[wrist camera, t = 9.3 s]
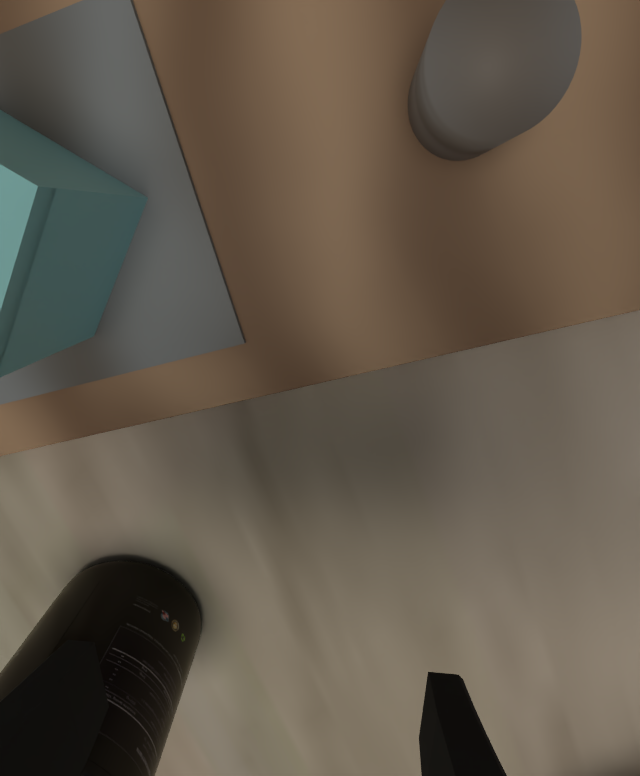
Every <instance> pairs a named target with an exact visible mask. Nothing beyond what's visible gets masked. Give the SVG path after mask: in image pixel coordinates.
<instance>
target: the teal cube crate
mask: <svg viewBox="0 0 640 776" xmlns="http://www.w3.org/2000/svg"><path fill="white" fill-rule="evenodd" d="M147 199H148V197H146V196H144V195H142V194H141V193H139V192H137V191H136V190H134V189H132V188H131V187H129V186H127V185H126V184H124V183H122V182H121V181H119V180H117V179H116V178H114V177H112V176H111V175H109V174H107V173H106V172H104V171H102V170H101V169H99V168H97V167H96V166H94V165H92V164H91V163H89V162H87V161H85V160H84V159H82V158H80V157H79V156H77V155H75V154H74V153H72V152H70V151H69V150H67V149H65V148H64V147H62V146H60V145H59V144H57V143H55V142H54V141H52V140H50V139H49V138H47V137H45V136H44V135H42V134H40V133H39V132H37V131H35V130H33V129H32V128H30V127H28V126H27V125H25V124H23V123H22V122H20V121H18V120H17V119H15V118H13V117H12V116H10V115H8V114H7V113H5V112H3V111H2V110H0V377H2V376H5V375H7V374H9V373H11V372H14V371H16V370H18V369H20V368H23V367H25V366H27V365H30V364H32V363H34V362H36V361H39V360H41V359H43V358H46V357H48V356H50V355H52V354H55V353H57V352H59V351H61V350H64V349H66V348H68V347H71V346H73V345H75V344H77V343H80V342H82V341H84V340H86V339H89V338H91V337H93V336H94V335H95V332H96V330H97V327H98V324H99V322H100V319H101V317H102V314H103V312H104V309H105V307H106V304H107V302H108V299H109V296H110V294H111V291H112V289H113V286H114V284H115V281H116V279H117V276H118V273H119V271H120V268H121V266H122V263H123V261H124V258H125V256H126V253H127V250H128V248H129V245H130V243H131V240H132V238H133V235H134V233H135V230H136V227H137V225H138V222H139V220H140V217H141V215H142V212H143V210H144V207H145V205H146V202H147Z"/></svg>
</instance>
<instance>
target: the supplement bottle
mask: <svg viewBox="0 0 640 776" xmlns="http://www.w3.org/2000/svg"><path fill="white" fill-rule="evenodd" d="M200 634H201V617H200V613H199V610H198V607H197V604H196V602H195V600H194V598H193V597H192V595H191V594H190V592H189V591H188V590H187V589H186V587H185V586H184V585H183V584H182V583H181V582H179V581H178V580H177V579H176V578H174V577H173V576H171V575H170V574H168V573H167V572H165V571H163V570H161V569H159V568H157V567H154V566H151V565H148V564H145V563H140V562H135V561H110V562H104V563H100V564H97V565H94V566H92V567H89V568H87V569H85V570H84V571H82V572H81V573H79V574H78V575H76V576H75V577H74V578H73V579H72V580H71V581H70V582H69V583H68V584H67V585H66V587H65V588H64V589H63V590H62V592H61V593H60V594H59V596H58V597H57V598H56V600H55V601H54V602H53V603H52V605H51V606H50V607H49V609H48V610H47V611H46V613H45V614H44V615H43V617H42V618H41V619H40V621H39V622H38V623H37V625H36V626H35V627H34V629H33V630H32V631H31V633H30V634H29V635H28V637H27V638H26V639H25V641H24V642H23V643H22V645H21V646H20V647H19V649H18V650H17V651H16V653H15V654H14V655H13V657H12V658H11V659H10V661H9V662H8V663H7V665H6V666H5V667H4V669H3V670H2V671H1V673H0V701H1V700H2V699H3V698H4V697H6V696H7V695H8V694H9V693H10V692H11V691H12V690H13V689H14V688H15V687H17V686H18V685H19V684H20V683H21V682H22V681H23V680H24V679H25V678H26V677H27V676H29V675H30V674H31V673H32V672H33V671H34V670H35V669H36V668H37V667H38V666H40V665H41V664H42V663H43V662H44V661H45V660H46V659H47V658H48V657H49V656H51V655H52V654H53V653H54V652H55V651H56V650H57V649H58V648H59V647H61V646H62V645H63V644H64V643H65V642H66V641H67V640H77V641H88V642H95V646H96V650H97V655H98V659H99V664H100V669H101V673H102V678H103V682H104V687H105V691H106V696H107V700H108V705H109V708H108V710H107V713H106V715H105V718H104V720H103V723H102V725H101V728H100V731H99V733H98V736H97V738H96V741H95V743H94V745H93V748H92V750H91V753H90V755H89V757H88V760H87V762H86V764H85V766H84V768H83V770H82V772H81V774H80V776H155V773H156V770H157V767H158V764H159V761H160V758H161V755H162V752H163V749H164V746H165V743H166V740H167V737H168V734H169V731H170V728H171V725H172V722H173V719H174V716H175V713H176V710H177V707H178V704H179V701H180V698H181V695H182V692H183V689H184V686H185V683H186V680H187V677H188V674H189V671H190V668H191V665H192V662H193V659H194V655H195V652H196V649H197V646H198V642H199V638H200Z"/></svg>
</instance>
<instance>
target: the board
mask: <svg viewBox="0 0 640 776" xmlns="http://www.w3.org/2000/svg"><path fill="white" fill-rule="evenodd" d="M0 110H2V111H3V112H5V113H7V114H8V115H10V116H12V117H13V118H15V119H17V120H18V121H20V122H22V123H23V124H25V125H27V126H28V127H30V128H32V129H33V130H35V131H37V132H39V133H40V134H42V135H44V136H45V137H47V138H49V139H50V140H52V141H54V142H55V143H57V144H59V145H60V146H62V147H64V148H65V149H67V150H69V151H70V152H72V153H74V154H75V155H77V156H79V157H80V158H82V159H84V160H85V161H87V162H89V163H91V164H92V165H94V166H96V167H97V168H99V169H101V170H102V171H104V172H106V173H107V174H109V175H111V176H112V177H114V178H116V179H117V180H119V181H121V182H122V183H124V184H126V185H127V186H129V187H131V188H132V189H134V190H136V191H137V192H139V193H141V194H142V195H144V196H146V197H148V199H147V202H146V205H145V207H144V210H143V212H142V215H141V217H140V220H139V222H138V225H137V227H136V230H135V233H134V235H133V238H132V240H131V243H130V245H129V248H128V250H127V253H126V256H125V258H124V261H123V263H122V266H121V268H120V271H119V273H118V276H117V279H116V281H115V284H114V286H113V289H112V291H111V294H110V296H109V299H108V302H107V304H106V307H105V309H104V312H103V314H102V317H101V319H100V322H99V324H98V327H97V330H96V332H95V335H94V336H93V337H91V338H89V339H86V340H84V341H82V342H80V343H77V344H75V345H73V346H71V347H68V348H66V349H64V350H61V351H59V352H57V353H55V354H52V355H50V356H48V357H46V358H43V359H41V360H39V361H36V362H34V363H32V364H30V365H27V366H25V367H23V368H20V369H18V370H16V371H14V372H11V373H9V374H7V375H5V376H2V377H0V456H2V455H7V454H11V453H16V452H20V451H24V450H29V449H33V448H37V447H42V446H46V445H51V444H55V443H59V442H64V441H68V440H72V439H77V438H81V437H86V436H90V435H94V434H99V433H103V432H107V431H112V430H116V429H121V428H125V427H129V426H134V425H138V424H143V423H147V422H151V421H156V420H160V419H164V418H169V417H173V416H178V415H182V414H186V413H191V412H195V411H199V410H204V409H208V408H213V407H217V406H221V405H226V404H230V403H234V402H239V401H243V400H248V399H252V398H256V397H261V396H265V395H269V394H274V393H278V392H283V391H287V390H291V389H296V388H300V387H304V386H309V385H313V384H318V383H322V382H326V381H331V380H335V379H340V378H344V377H348V376H353V375H357V374H361V373H366V372H370V371H375V370H379V369H383V368H388V367H392V366H396V365H401V364H405V363H410V362H414V361H418V360H423V359H427V358H431V357H436V356H440V355H445V354H449V353H453V352H458V351H462V350H466V349H471V348H475V347H480V346H484V345H488V344H493V343H497V342H502V341H506V340H510V339H515V338H519V337H523V336H528V335H532V334H537V333H541V332H545V331H550V330H554V329H558V328H563V327H567V326H572V325H576V324H580V323H585V322H589V321H593V320H598V319H602V318H607V317H611V316H615V315H620V314H624V313H628V312H633V311H637V310H640V0H0Z"/></svg>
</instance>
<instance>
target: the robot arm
mask: <svg viewBox="0 0 640 776" xmlns="http://www.w3.org/2000/svg"><path fill="white" fill-rule="evenodd" d="M108 708H109V705H108V700H107V696H106V691H105V687H104V682H103V678H102V673H101V669H100V664H99V659H98V655H97V650H96V646H95V642H88V641H77V640H67V641H66V642H65V643H64V644H63V645H62V646H61V647H59V648H58V649H57V650H56V651H55V652H54V653H53V654H52V655H51V656H49V657H48V658H47V659H46V660H45V661H44V662H43V663H42V664H41V665H40V666H38V667H37V668H36V669H35V670H34V671H33V672H32V673H31V674H30V675H29V676H27V677H26V678H25V679H24V680H23V681H22V682H21V683H20V684H19V685H18V686H17V687H15V688H14V689H13V690H12V691H11V692H10V693H9V694H8V695H7V696H6V697H4V698H3V699H2V700H1V701H0V776H80V774H81V772H82V770H83V768H84V766H85V764H86V762H87V760H88V757H89V755H90V753H91V750H92V748H93V745H94V743H95V741H96V738H97V736H98V733H99V731H100V728H101V725H102V723H103V720H104V718H105V715H106V713H107V710H108ZM419 744H420V758H421V772H422V776H507V775H506V773H505V771H504V769H503V767H502V765H501V763H500V761H499V759H498V757H497V755H496V753H495V751H494V749H493V747H492V745H491V743H490V740H489V738H488V736H487V734H486V732H485V730H484V728H483V725H482V723H481V721H480V719H479V717H478V714H477V712H476V710H475V708H474V705H473V703H472V701H471V698H470V696H469V693H468V691H467V688H466V686H465V683H464V681H463V679H462V678H461V677H460V676H459V675H456V674H445V673H434V672H428V677H427V684H426V692H425V699H424V706H423V713H422V720H421V727H420V735H419Z"/></svg>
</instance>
